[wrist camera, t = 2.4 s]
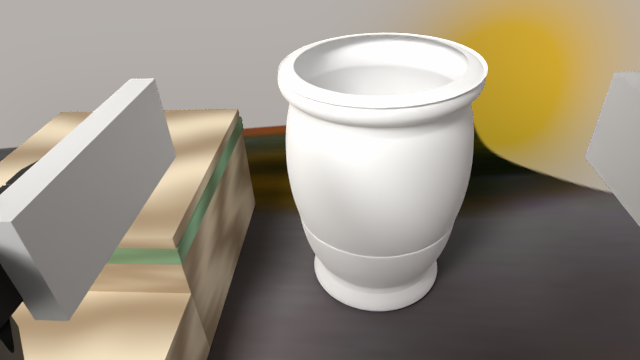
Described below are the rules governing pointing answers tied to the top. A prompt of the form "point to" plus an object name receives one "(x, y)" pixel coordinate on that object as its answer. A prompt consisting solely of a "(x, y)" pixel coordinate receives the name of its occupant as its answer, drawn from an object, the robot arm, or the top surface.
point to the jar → (379, 158)
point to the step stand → (157, 250)
